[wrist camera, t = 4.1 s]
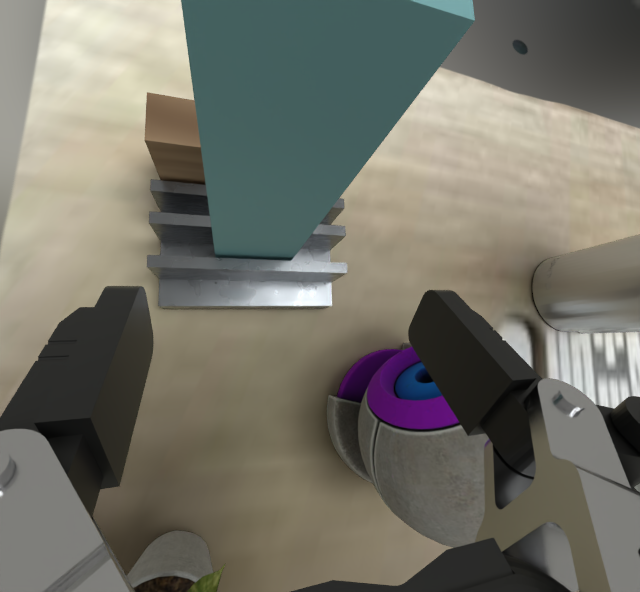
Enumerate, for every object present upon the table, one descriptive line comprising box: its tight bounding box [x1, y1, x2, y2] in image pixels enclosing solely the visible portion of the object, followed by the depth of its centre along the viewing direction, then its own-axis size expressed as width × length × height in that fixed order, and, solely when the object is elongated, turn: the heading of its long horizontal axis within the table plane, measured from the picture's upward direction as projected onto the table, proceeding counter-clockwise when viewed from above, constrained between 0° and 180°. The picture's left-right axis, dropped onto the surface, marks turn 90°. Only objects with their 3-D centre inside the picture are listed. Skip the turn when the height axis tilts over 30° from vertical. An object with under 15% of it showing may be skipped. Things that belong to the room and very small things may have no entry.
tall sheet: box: [181, 0, 475, 261], centre depth 16 cm, size 2×6×22 cm, turn 92°
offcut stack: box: [145, 93, 206, 185], centre depth 23 cm, size 3×13×9 cm, turn 92°
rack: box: [147, 179, 347, 309], centre depth 26 cm, size 14×14×6 cm
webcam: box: [327, 343, 489, 548], centre depth 23 cm, size 13×13×15 cm
